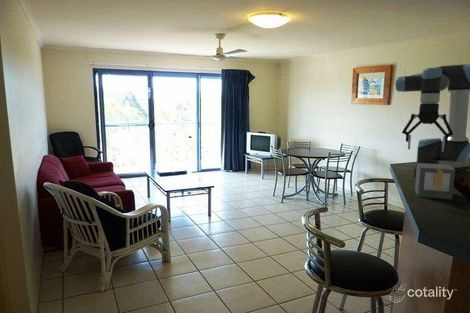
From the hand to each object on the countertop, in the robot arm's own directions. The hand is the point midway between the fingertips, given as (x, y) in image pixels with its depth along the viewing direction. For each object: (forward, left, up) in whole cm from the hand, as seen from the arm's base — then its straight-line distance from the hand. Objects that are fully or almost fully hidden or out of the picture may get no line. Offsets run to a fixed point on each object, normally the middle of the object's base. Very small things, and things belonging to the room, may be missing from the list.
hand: (425, 150), depth 155 cm
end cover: (-7, +1, -19) cm, 20 cm away
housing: (-11, -2, -23) cm, 25 cm away
